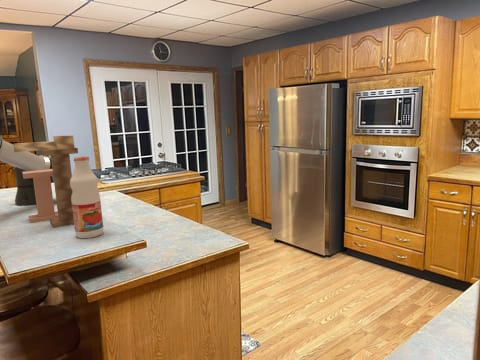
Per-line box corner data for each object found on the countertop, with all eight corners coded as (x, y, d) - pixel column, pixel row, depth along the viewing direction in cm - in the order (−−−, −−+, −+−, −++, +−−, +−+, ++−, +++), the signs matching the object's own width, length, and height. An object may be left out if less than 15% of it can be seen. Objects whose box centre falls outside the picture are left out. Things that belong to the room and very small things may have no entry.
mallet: (70, 147, 148) (69, 135, 147) (74, 148, 142) (73, 135, 141) (13, 151, 136) (11, 138, 136) (15, 152, 131) (13, 138, 130)
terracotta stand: (62, 213, 162) (56, 168, 158) (64, 217, 155) (59, 170, 152) (28, 219, 155) (22, 171, 151) (30, 223, 148) (23, 173, 145)
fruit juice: (89, 229, 136) (81, 155, 131) (109, 231, 133) (101, 155, 128) (69, 237, 127) (59, 158, 123) (90, 239, 124) (81, 158, 119)
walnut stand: (81, 217, 154) (73, 147, 149) (85, 222, 147) (77, 148, 142) (50, 222, 148) (40, 149, 143) (53, 227, 140) (43, 150, 135)
